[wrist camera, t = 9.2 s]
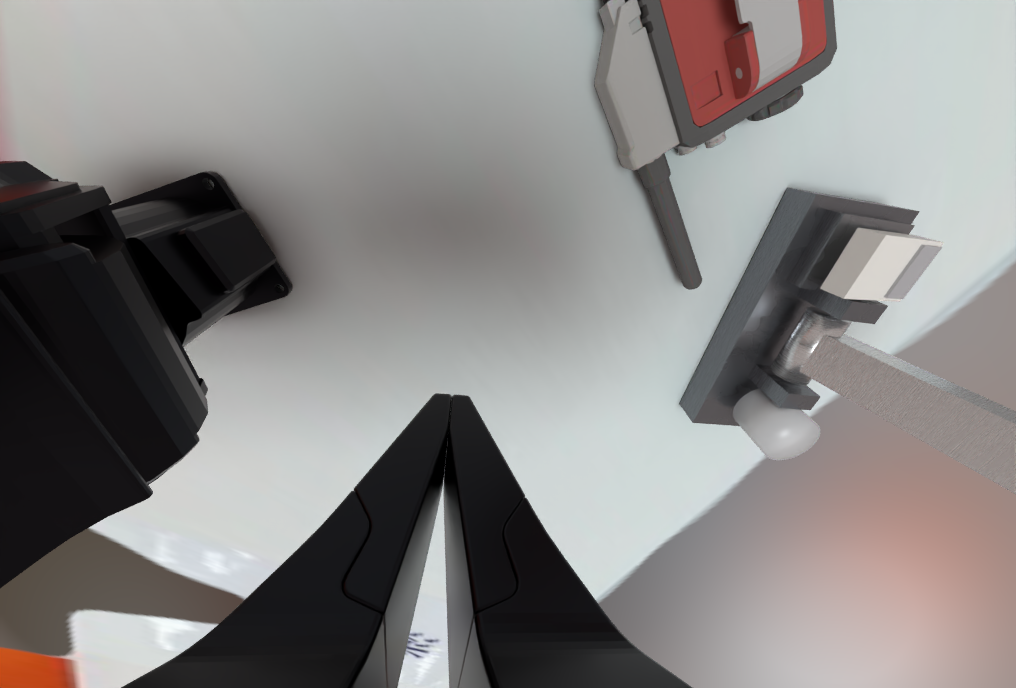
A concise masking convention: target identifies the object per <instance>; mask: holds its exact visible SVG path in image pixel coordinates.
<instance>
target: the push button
mask: <svg viewBox="0 0 1016 688" xmlns="http://www.w3.org/2000/svg"><path fill="white" fill-rule="evenodd" d="M733 417H734V419H735V421H736V422H737V423H738V424H739V425H740V426H741V428H742V429H743V430H744V431H745V432H746V433H747V435H748V436H749V437H750V438H751V439H752V440H753V442H754V443H755V444H756V445H757V446H758V447H759V449H760V450H761V451H762V452H763V453H764V454H765V455H766V456H767V457H768V458H770V459H774V460H785V459H790V458H793V457H796V456H798V455H800V454H802V453H804V452H805V451H807V450H808V449H809V448H810V447H812V446H813V445H814V444H815V443H816V441H817V440H818V438H819V435H820V427H819V426H818V424H816V423H815V422H814V421H813V420H812V419H811V418H810V417H809V416H808V415H806V414H805V413H804V412H803V411H802V410H801V409H790V408H780V407H779V406H778V405H777V404H776V403H775V402H774V401H772V400H771V399H770V398H769V397H768V396H767V395H766V394H765V393H764V392H763V391H762V390H761V389H760V388H759V389H756V390H753V391H751V392H749V393H747V394H746V395H744V396H743V397H742V398H741V399H740V400H739V401H738V402H737V403H736V405H735V407H734V409H733Z"/></svg>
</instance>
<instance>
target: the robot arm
mask: <svg viewBox="0 0 1016 688" xmlns="http://www.w3.org/2000/svg"><path fill="white" fill-rule="evenodd" d="M208 179H210V180H211V181H212V182H213V183H214V188H212V187H211V186H210V185H209V184H208V182H207V180H208ZM110 203H111V200H110V198H109V197H108V195H107V193H106V191H105V189H104V187H103V186H79V185H78V183H77V182H62V181H58V179H52V178H51V177H49V176H48V175H46V174H44V173H43V172H41V171H40V170H38V169H37V168H35V167H34V166H32V165H30V164H29V163H27V162H26V161H2V162H0V588H1V587H2V586H4V585H5V584H7V583H8V582H9V581H11V580H12V579H13V578H15V577H16V576H17V575H19V574H20V573H22V572H23V571H24V570H26V569H27V568H28V567H30V566H31V565H32V564H34V563H35V562H36V561H38V560H39V559H41V558H42V557H43V556H45V555H46V554H48V553H49V552H51V551H52V550H53V549H55V548H56V547H58V546H59V545H61V544H62V543H64V542H65V541H67V540H68V539H70V538H71V537H73V536H75V535H76V534H78V533H80V532H82V531H83V530H85V529H87V528H89V527H90V526H92V525H94V524H96V523H97V522H99V521H101V520H103V519H104V518H106V517H108V516H110V515H113V514H115V513H117V512H119V511H122V510H124V509H126V508H128V507H131V506H133V505H135V504H137V503H140V502H142V501H144V500H146V499H148V498H149V497H150V496H151V495H152V494H153V491H152V490H151V488H150V487H149V486H148V485H149V484H150V483H152V482H153V481H155V480H156V479H158V478H159V477H160V476H161V475H163V474H164V473H165V472H166V471H167V470H169V469H170V468H171V467H173V466H174V465H175V464H177V463H178V462H179V461H181V460H182V459H183V458H184V457H185V456H186V455H187V454H188V453H189V452H190V451H191V450H192V449H193V448H194V447H195V446H196V444H197V443H198V442H199V436H198V435H197V432H198V431H199V429H200V428H201V426H202V424H203V422H204V420H205V418H206V416H207V414H208V406H207V399H206V397H205V395H206V393H207V390H208V388H207V386H206V384H205V382H204V380H203V379H202V378H199V377H198V375H197V373H196V371H195V369H194V367H193V365H192V363H191V361H190V359H189V357H188V356H187V354H186V352H185V350H184V348H183V347H184V346H185V345H186V344H188V343H189V342H190V341H192V340H193V339H194V338H196V337H197V336H198V335H200V334H201V333H202V332H204V331H205V330H206V329H208V328H209V327H210V326H211V325H213V324H214V323H215V322H217V321H218V320H219V319H221V318H222V317H223V316H226V315H229V314H232V313H235V312H238V311H242V310H245V309H248V308H251V307H254V306H257V305H260V304H264V303H267V302H270V301H273V300H276V299H279V298H282V297H285V296H287V295H288V294H289V293H290V292H291V291H292V285H291V283H290V282H289V280H288V279H287V277H286V275H285V274H284V272H283V271H282V269H281V268H280V266H279V265H278V263H277V262H276V260H275V259H276V258H275V255H274V254H273V252H272V251H271V249H270V248H269V246H268V245H267V243H266V242H265V240H264V239H263V237H262V236H261V234H260V232H259V231H258V229H257V228H256V226H255V225H254V223H253V222H252V220H251V219H250V217H249V216H248V214H247V213H246V212H244V211H243V210H242V208H241V207H240V205H239V204H238V202H237V201H236V199H235V197H234V196H233V194H232V193H231V191H230V190H229V188H228V187H227V185H226V184H225V182H224V181H223V179H222V178H221V177H220V176H219V175H218V174H216V173H214V172H211V171H209V172H202V173H198V174H196V175H193V176H190V177H187V178H185V179H182V180H179V181H176V182H173V183H171V184H168V185H165V186H162V187H160V188H157V189H154V190H151V191H148V192H146V193H143V194H140V195H137V196H134V197H132V198H129V199H126V200H123V201H121V202H118V203H115V204H112V205H109V204H110ZM278 284H279V285H281V286H282V287H283V288H284V290H281V289H279V288H278ZM451 399H452V401H451ZM450 410H451V411H450ZM449 420H450V421H449ZM447 441H448V442H447ZM446 451H447V452H446ZM445 461H446V463H445ZM444 471H445V474H444ZM443 480H444V525H445V558H446V592H447V626H448V660H449V688H692V687H691V686H689V685H688V684H687V683H685V682H684V681H682V680H681V679H680V678H678V677H677V676H675V675H674V674H672V673H671V672H669V671H668V670H667V669H665V668H664V667H663V666H661V665H660V664H658V663H657V662H655V661H654V660H653V659H651V658H650V657H648V656H647V655H645V654H644V653H643V652H641V651H640V650H639V649H638V648H637V647H635V646H634V645H633V644H632V643H631V642H630V641H629V640H628V639H627V638H626V637H625V636H624V635H623V634H622V633H621V632H620V631H619V630H618V629H617V628H616V626H615V625H614V624H613V623H612V622H611V620H610V619H609V618H608V616H607V615H606V614H605V613H604V611H603V610H602V608H601V607H600V606H599V604H598V603H597V602H596V600H595V599H594V597H593V596H592V595H591V593H590V592H589V591H588V589H587V588H586V587H585V585H584V584H583V582H582V581H581V580H580V578H579V577H578V576H577V574H576V573H575V571H574V570H573V569H572V567H571V566H570V565H569V563H568V562H567V560H566V559H565V558H564V556H563V555H562V554H561V552H560V551H559V549H558V548H557V546H556V545H555V543H554V542H553V541H552V539H551V538H550V536H549V535H548V533H547V532H546V530H545V528H544V527H543V525H542V523H541V522H540V520H539V519H538V517H537V515H536V514H535V512H534V510H533V508H532V507H531V505H530V503H529V501H528V499H527V498H525V494H524V493H523V491H522V489H521V487H520V486H519V484H518V482H517V480H516V478H515V477H514V475H513V473H512V471H511V470H510V468H509V466H508V464H507V462H506V461H505V459H504V457H503V455H502V454H501V452H500V450H499V448H498V446H497V445H496V443H495V441H494V439H493V438H492V436H491V434H490V432H489V431H488V429H487V427H486V425H485V423H484V422H483V420H482V418H481V416H480V415H479V413H478V411H477V409H476V407H475V406H474V404H473V402H472V400H471V399H470V397H469V396H465V395H453V396H451V395H450V394H439V393H436V394H434V395H433V396H432V397H431V398H430V400H429V401H428V402H427V403H426V404H425V406H424V407H423V408H422V409H421V410H420V411H419V413H418V414H417V415H416V416H415V417H414V418H413V420H412V421H411V422H410V423H409V424H408V426H407V427H406V428H405V429H404V430H403V431H402V433H401V434H400V435H399V436H398V437H397V438H396V440H395V441H394V442H393V443H392V444H391V446H390V447H389V448H388V449H387V450H386V451H385V453H384V454H383V455H382V456H381V457H380V458H379V460H378V461H377V462H376V463H375V464H374V466H373V467H372V468H371V469H370V470H369V471H368V473H367V474H366V475H365V476H364V477H363V479H362V480H361V481H360V482H359V483H358V484H357V486H356V487H355V488H354V491H351V492H350V494H349V495H348V496H347V497H346V498H345V499H344V501H343V502H342V503H341V504H340V505H339V507H338V508H337V509H336V510H335V511H334V512H333V513H332V514H331V515H330V516H329V518H328V519H327V520H326V521H325V522H324V523H323V524H322V525H321V526H320V528H319V529H318V530H317V531H316V532H315V533H314V534H313V535H311V536H310V537H309V538H308V539H307V540H306V541H305V542H304V543H303V544H302V545H301V546H300V547H299V548H298V549H297V550H296V551H295V552H294V553H293V554H292V555H291V556H290V557H289V558H288V559H287V560H286V561H285V562H284V563H283V564H282V565H281V566H280V567H279V568H278V569H277V570H276V571H275V572H273V573H272V574H271V575H270V576H269V577H268V578H267V579H266V580H265V581H264V582H263V583H262V584H261V585H260V586H259V587H258V588H257V589H256V590H255V591H254V592H253V593H251V594H250V595H249V596H248V597H247V598H246V599H245V600H244V601H243V602H242V603H241V604H240V605H239V606H238V607H237V608H236V609H235V610H234V611H233V612H232V613H231V614H230V615H229V616H227V617H226V618H225V619H224V620H223V621H222V622H221V623H220V624H219V625H218V626H216V627H215V628H214V629H213V630H212V631H210V632H209V633H208V634H207V635H206V636H204V637H203V638H202V639H200V640H199V641H198V642H196V643H195V644H194V645H192V646H191V647H190V648H188V649H187V650H185V651H184V652H182V653H181V654H179V655H178V656H176V657H175V658H173V659H171V660H170V661H168V662H166V663H165V664H163V665H161V666H159V667H157V668H156V669H154V670H152V671H150V672H148V673H147V674H145V675H143V676H141V677H139V678H138V679H136V680H134V681H132V682H130V683H129V684H127V685H125V686H123V687H121V688H397V686H398V682H399V677H400V673H401V669H402V664H403V660H404V655H405V651H406V647H407V642H408V638H409V633H410V629H411V625H412V620H413V616H414V611H415V607H416V603H417V598H418V594H419V589H420V585H421V581H422V576H423V572H424V567H425V563H426V559H427V554H428V550H429V545H430V541H431V536H432V532H433V528H434V523H435V519H436V514H437V510H438V506H439V501H440V497H441V492H442V487H443Z"/></svg>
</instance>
